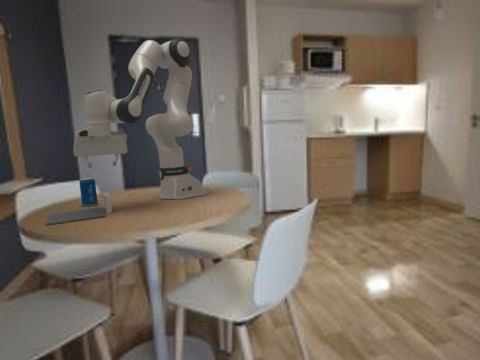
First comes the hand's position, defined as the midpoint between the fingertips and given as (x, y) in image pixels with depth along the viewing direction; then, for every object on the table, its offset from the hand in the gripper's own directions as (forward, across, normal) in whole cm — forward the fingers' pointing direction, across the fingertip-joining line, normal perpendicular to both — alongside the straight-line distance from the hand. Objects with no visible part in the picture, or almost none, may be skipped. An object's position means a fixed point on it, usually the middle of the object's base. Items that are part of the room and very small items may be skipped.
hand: (102, 166), depth 146 cm
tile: (+18, -1, 0) cm, 18 cm away
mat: (+18, +11, +2) cm, 22 cm away
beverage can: (+18, +6, -18) cm, 26 cm away
